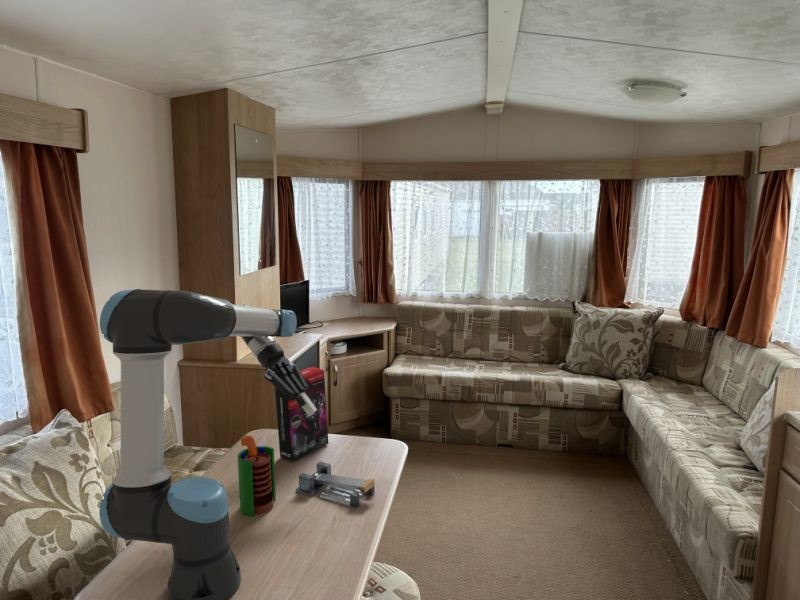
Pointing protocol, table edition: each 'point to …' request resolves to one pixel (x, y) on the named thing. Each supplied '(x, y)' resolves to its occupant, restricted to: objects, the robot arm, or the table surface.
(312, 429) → the graphics card box
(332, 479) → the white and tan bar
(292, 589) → the table surface
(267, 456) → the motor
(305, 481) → the bracket
